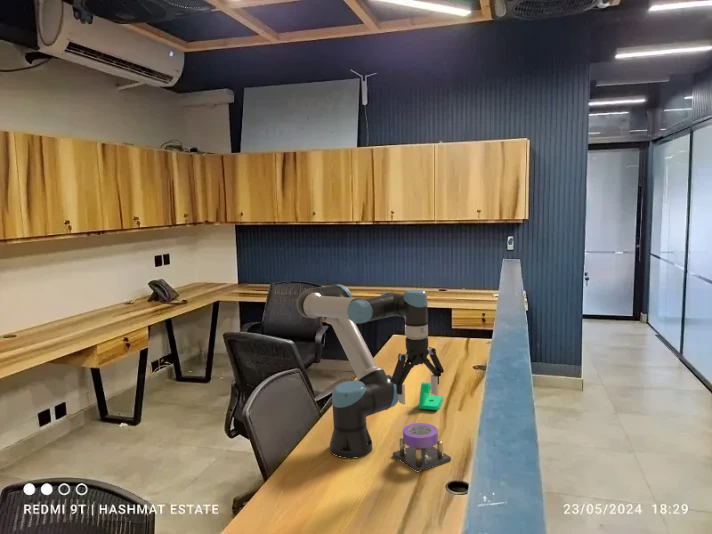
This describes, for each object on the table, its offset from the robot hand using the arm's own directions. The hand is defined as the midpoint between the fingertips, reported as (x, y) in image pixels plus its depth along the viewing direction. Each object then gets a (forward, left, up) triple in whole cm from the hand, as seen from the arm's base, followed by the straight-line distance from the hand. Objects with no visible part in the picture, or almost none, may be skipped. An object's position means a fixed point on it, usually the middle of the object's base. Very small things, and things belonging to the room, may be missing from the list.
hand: (418, 398), depth 178 cm
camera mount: (+32, +34, -21) cm, 51 cm away
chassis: (0, -1, -21) cm, 21 cm away
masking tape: (0, -1, -15) cm, 15 cm away
